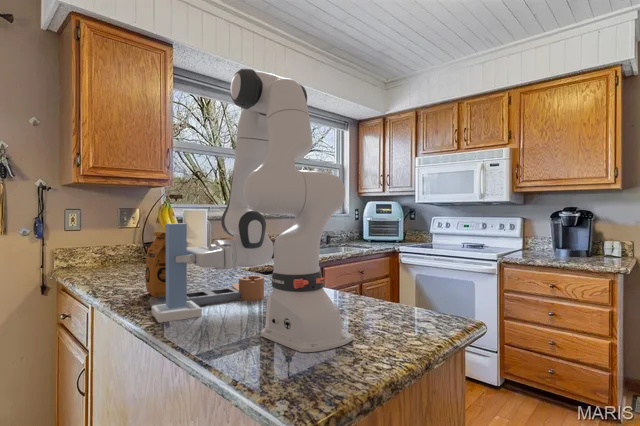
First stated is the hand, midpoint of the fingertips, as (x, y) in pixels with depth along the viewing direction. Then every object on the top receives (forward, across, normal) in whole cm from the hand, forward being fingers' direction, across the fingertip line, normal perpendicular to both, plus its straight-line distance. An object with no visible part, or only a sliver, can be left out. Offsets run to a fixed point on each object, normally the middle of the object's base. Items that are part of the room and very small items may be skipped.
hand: (172, 257), depth 101 cm
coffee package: (-2, -29, +16) cm, 33 cm away
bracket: (-27, -12, +17) cm, 34 cm away
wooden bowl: (-86, -111, +18) cm, 141 cm away
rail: (-9, -11, +16) cm, 21 cm away
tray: (-1, 0, +16) cm, 16 cm away
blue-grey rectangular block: (-1, 0, +14) cm, 14 cm away
